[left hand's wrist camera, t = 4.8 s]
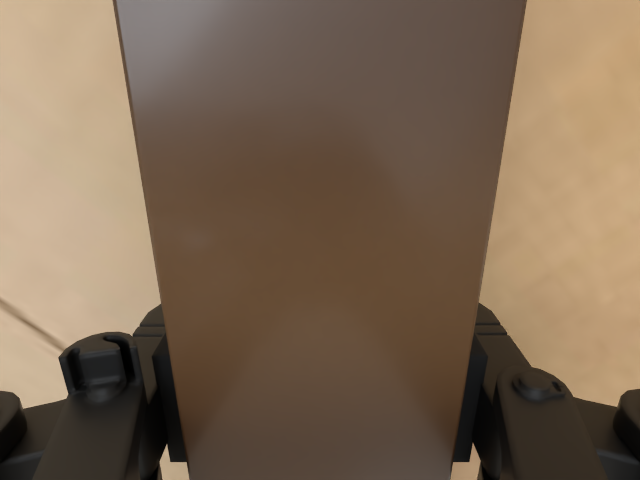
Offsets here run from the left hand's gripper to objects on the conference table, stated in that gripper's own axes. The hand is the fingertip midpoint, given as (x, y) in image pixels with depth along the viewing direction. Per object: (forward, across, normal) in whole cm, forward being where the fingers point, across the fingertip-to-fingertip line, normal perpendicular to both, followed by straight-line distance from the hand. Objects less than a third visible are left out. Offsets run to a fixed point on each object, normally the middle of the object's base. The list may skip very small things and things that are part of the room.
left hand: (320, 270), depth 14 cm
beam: (+1, 0, -17) cm, 17 cm away
